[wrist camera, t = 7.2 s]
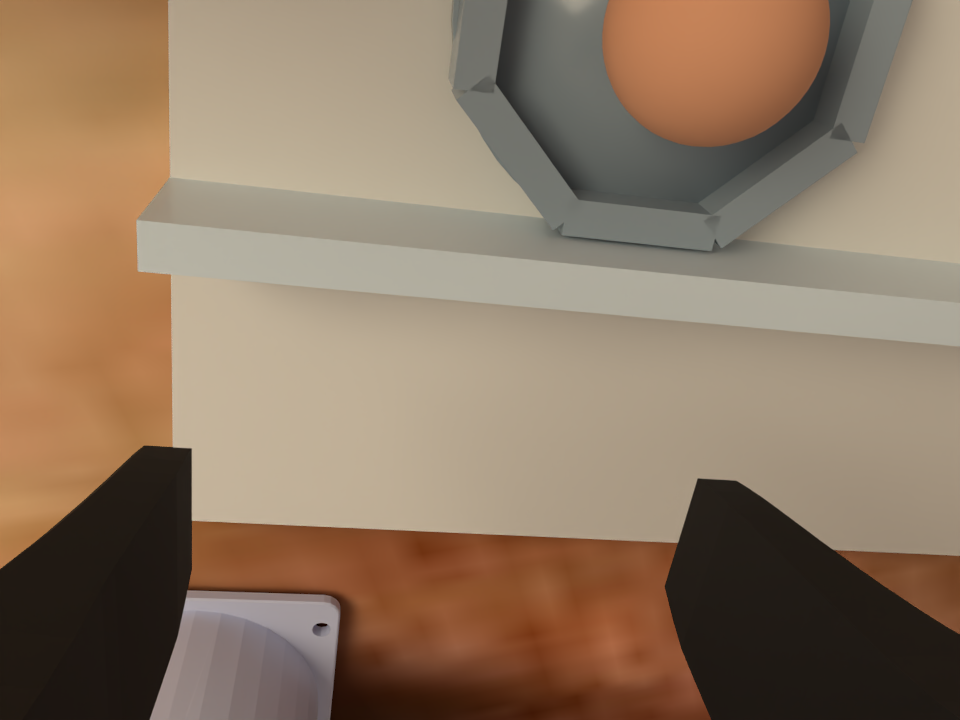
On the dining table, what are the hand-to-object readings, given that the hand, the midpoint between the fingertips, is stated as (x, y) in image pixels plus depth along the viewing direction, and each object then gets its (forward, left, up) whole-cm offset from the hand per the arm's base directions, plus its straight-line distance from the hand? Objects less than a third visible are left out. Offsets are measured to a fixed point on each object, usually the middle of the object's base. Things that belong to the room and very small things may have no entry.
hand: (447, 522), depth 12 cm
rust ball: (+7, -5, -6) cm, 10 cm away
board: (+2, -6, -10) cm, 12 cm away
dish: (+7, -5, -9) cm, 12 cm away
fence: (+2, -6, -10) cm, 12 cm away
